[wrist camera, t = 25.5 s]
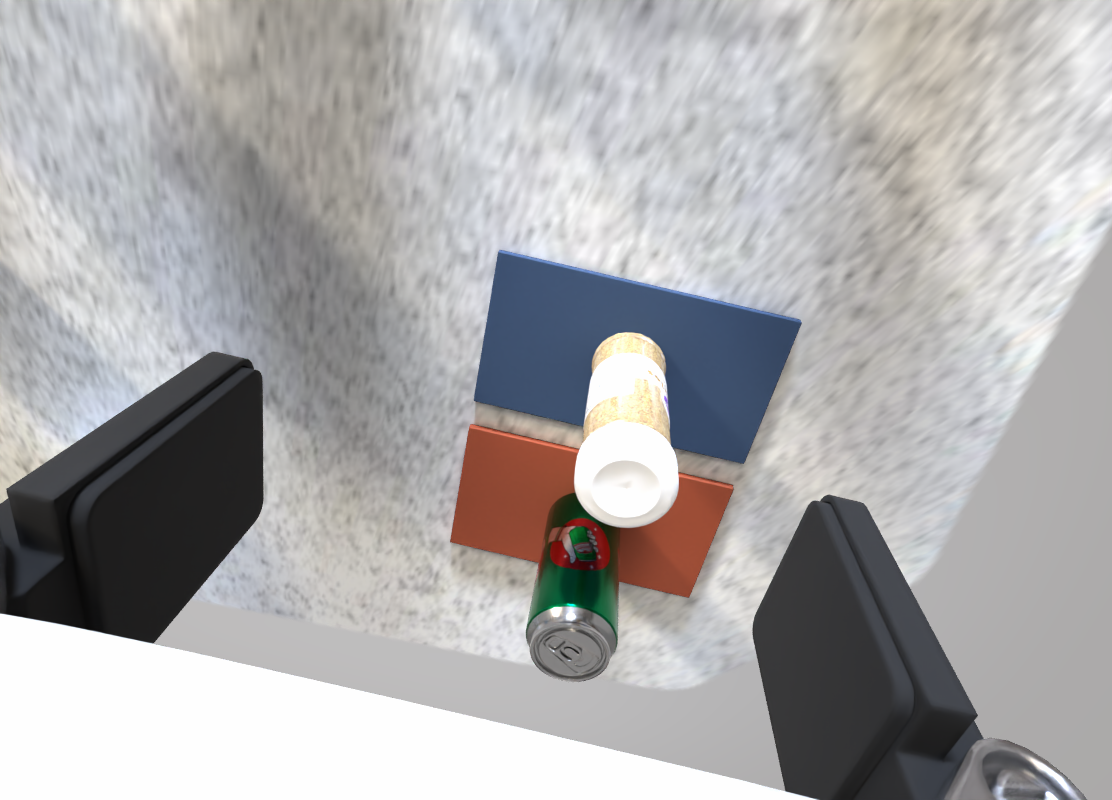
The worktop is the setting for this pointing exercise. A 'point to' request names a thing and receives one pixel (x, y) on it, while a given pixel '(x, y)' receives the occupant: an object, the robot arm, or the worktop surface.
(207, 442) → the robot arm
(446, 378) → the worktop surface
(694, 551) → the terracotta mat
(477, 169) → the worktop surface
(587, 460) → the sprinkles bottle
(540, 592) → the soda can
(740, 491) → the worktop surface
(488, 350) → the slate-blue mat
